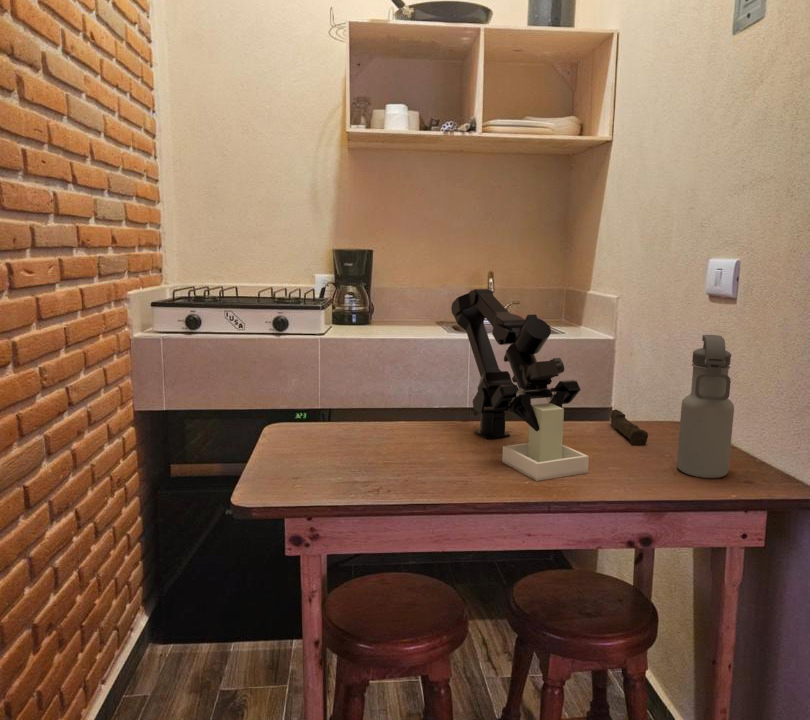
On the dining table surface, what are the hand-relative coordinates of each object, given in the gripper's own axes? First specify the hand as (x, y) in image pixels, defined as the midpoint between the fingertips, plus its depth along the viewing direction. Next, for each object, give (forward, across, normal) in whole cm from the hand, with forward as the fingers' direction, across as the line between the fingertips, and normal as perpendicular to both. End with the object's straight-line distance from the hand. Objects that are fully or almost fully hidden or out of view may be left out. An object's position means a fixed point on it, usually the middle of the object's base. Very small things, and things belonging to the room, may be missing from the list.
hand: (549, 429), depth 137 cm
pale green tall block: (+4, 0, +6) cm, 7 cm away
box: (+5, 0, +7) cm, 9 cm away
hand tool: (-6, +31, +18) cm, 37 cm away
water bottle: (+14, +30, -2) cm, 33 cm away
